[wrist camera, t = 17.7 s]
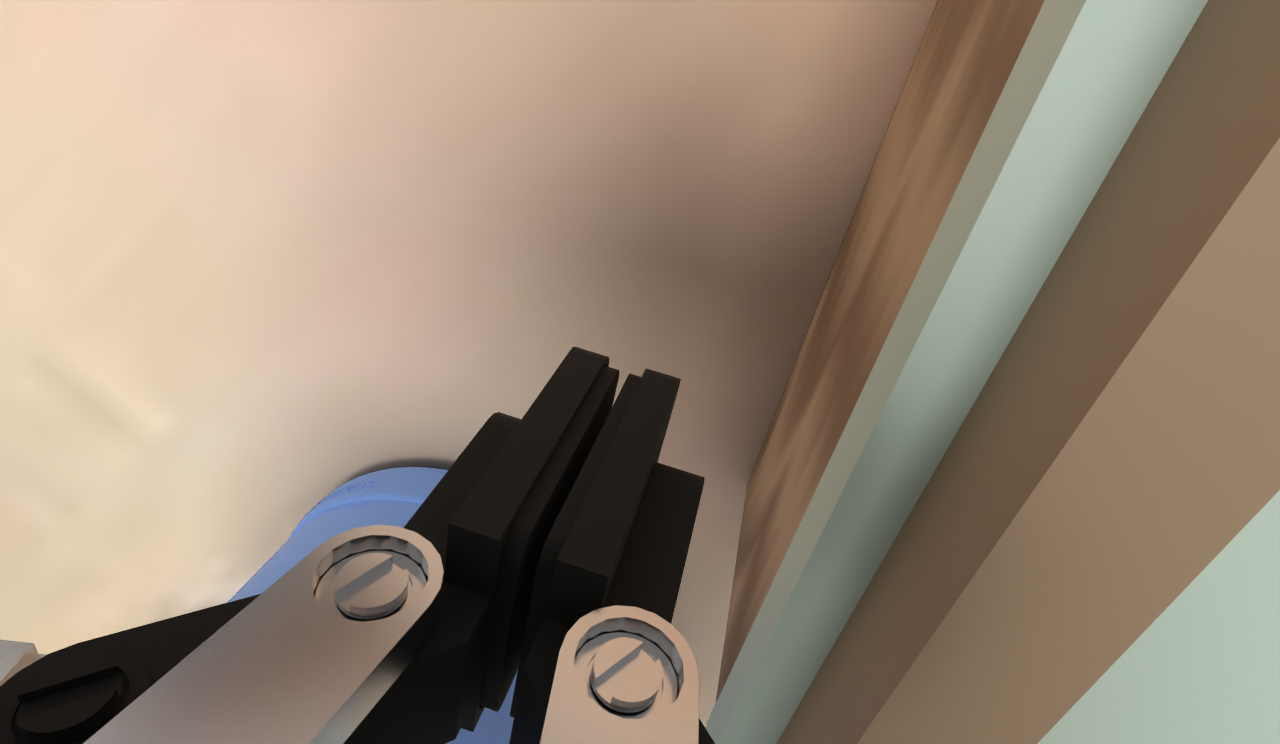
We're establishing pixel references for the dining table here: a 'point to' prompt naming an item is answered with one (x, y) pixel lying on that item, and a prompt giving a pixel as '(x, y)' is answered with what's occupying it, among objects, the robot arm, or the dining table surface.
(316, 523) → the water jug
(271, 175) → the dining table surface
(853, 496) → the lid
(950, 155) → the wooden box
